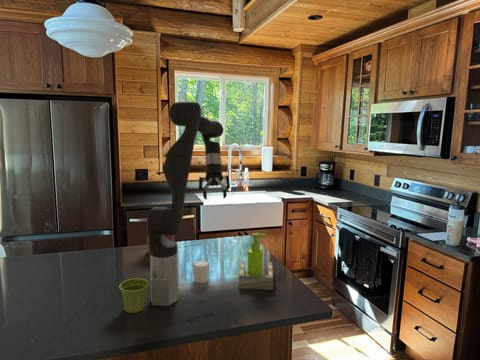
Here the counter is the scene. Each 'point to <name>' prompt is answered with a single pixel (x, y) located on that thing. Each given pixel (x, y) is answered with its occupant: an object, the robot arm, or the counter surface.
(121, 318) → the counter surface
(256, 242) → the soap dispenser
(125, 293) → the plant pot
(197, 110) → the robot arm
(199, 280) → the shot glass
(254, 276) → the shelf
